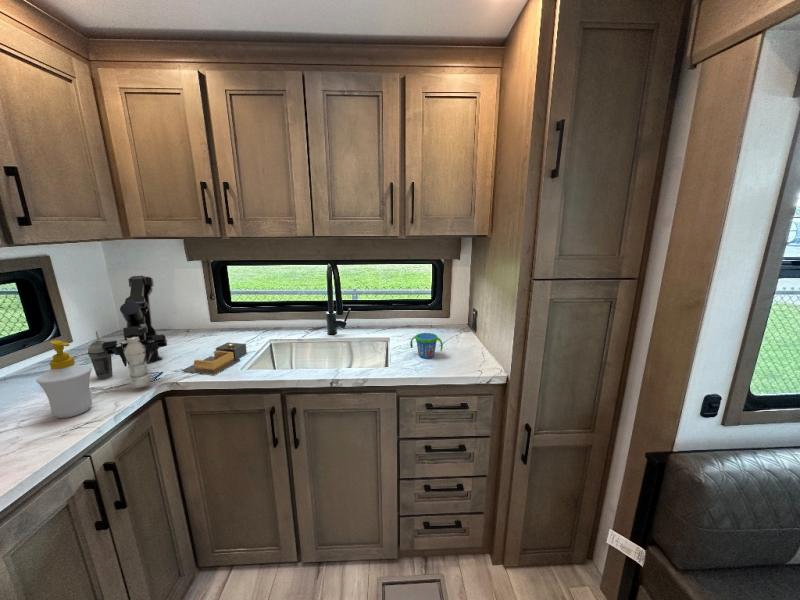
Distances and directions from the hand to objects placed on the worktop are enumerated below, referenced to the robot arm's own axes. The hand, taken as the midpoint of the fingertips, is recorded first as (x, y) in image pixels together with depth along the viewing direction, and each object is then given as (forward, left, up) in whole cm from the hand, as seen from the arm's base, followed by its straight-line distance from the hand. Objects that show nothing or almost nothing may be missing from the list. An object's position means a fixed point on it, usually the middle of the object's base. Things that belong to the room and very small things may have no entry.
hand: (136, 364), depth 121 cm
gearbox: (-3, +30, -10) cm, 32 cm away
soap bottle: (0, -18, -11) cm, 21 cm away
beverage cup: (-25, -4, -11) cm, 28 cm away
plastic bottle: (-1, +1, -10) cm, 10 cm away
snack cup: (+70, +93, -11) cm, 116 cm away
